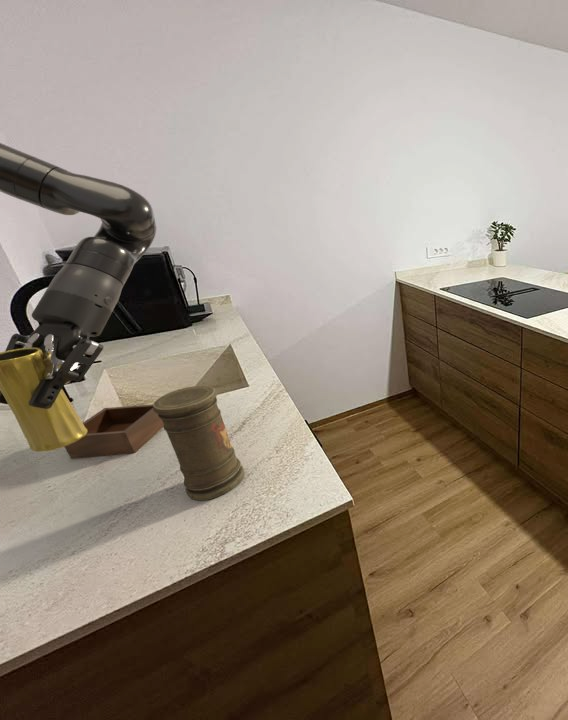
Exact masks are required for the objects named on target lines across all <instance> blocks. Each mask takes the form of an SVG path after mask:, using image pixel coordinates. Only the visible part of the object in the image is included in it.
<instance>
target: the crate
mask: <svg viewBox="0 0 568 720" xmlns="http://www.w3.org/2000/svg"><path fill="white" fill-rule="evenodd" d="M153 404H154V403H152V404H141V405H126V406H114V407H104V408H103V409H101V410H99V411H98V412H97V413H95V414H93V415H92V416H91V417H89V418H88V419H86V420H84V421H82V423H83V424H84V426H85V428H86V429H87V433H86V435H85V436H84V437H82V438H81V439H79V440H78V441H76V442H74V443H72V444H70V445H67V446H64V447H63V448H64V449H65V450H66V452H67V454H68V456H69V458H70V459H81V458H92V457H103V456H115V455H126V454H135V453H136V452H138V451H139V450H140V449H141V448H142V447H144V445H145V444H146V443H147V442H149V441H150V440H151V439H152V438H153V437H154V436H156V435H157V434H158V433H159V432H160V431H161V430H162V429H163V428H164V424H163V421H162V420H161V418H159V416H158V414H157V413H155V412H154V410H153ZM162 427H163V428H162ZM161 428H162V429H161ZM160 429H161V430H160ZM159 430H160V431H159ZM158 431H159V432H158Z"/></svg>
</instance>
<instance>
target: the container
mask: <svg viewBox="0 0 568 720" xmlns="http://www.w3.org/2000/svg"><path fill="white" fill-rule="evenodd" d="M217 395H218V392H217V390H216V388H214V387H212V386H210V385H193V386H186V387H182V388H179V389H176V390H173V391H170V392H168V393H165V394H163V395H161V396H160V397H158V398H157V399H156V400H155V401H154V402H153V403H152V404H153V410H154V412H155V413H157V414H158V416H159V418H161V420H162V421H163V424H164V427H163V429H164V432H166V435H167V437H168V439H169V441H170V444H171V446H172V448H173V451H174V453H175V456H176V458H177V462H178V464H179V470H180V473H182V475H183V485H184V487H185V492H186V495H187V496H188V497H189V498H191V499H192V500H196V501H207V500H211V499H215V498H218V497H220V496H222V495H225V494H227V493H228V492H230V491H231V490H233V489H234V488H236V487H237V486H238V485H239V484H240V483H241V482H242V481H243V478H244V476H245V468H244V466H243V465H242V463H241V460H240V459H239V458H237V456H236V452H235V449H234V447H233V445H232V443H231V439H230V438H229V434H228V431H227V428H226V424H225V422H224V420H223V416H222V414H221V413H222V411H221V409H220V408H219V407H218V397H217Z"/></svg>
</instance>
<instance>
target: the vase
mask: <svg viewBox="0 0 568 720" xmlns="http://www.w3.org/2000/svg"><path fill="white" fill-rule="evenodd" d="M43 356H44V353H43V352H42V350H41V349H40V348H20V349H14V350H9V351H5V350H4V351H1V352H0V390H1V392H2V394H3V396H4V397H5V399H6V401H7V403H8V404H7V405H8V406H9V409H10V411H11V412H12V413H13V416H14V417H15V420H16V421H17V423H18V426H19V427H20V430H21V432H22V433H23V434H22V435H23V436H24V437H25V439H26V441H27V444H28V446H29V449H30V450H31V451H32V452H41V453H42V452H49V451H54V450H58V449H62V448H65V447H64V446H67V445H70V444H72V443H74V442H76V441H78V440H79V439H81V438H82V437H84V436H85V435H86V433H87V429H86V428H85V426H84V424H83V421H82V419H81V418H80V416H79V414H78V413H77V411H76V409H75V407H74V406H73V404H72V403H71V401H70V399H69V398H68V396H67V395H66V392H65V391H64V389H63V388H62V389H61V391H60V393H59V395H58V397H57V398H56V400H55V402H54V403H53V405H52V407H51V408H49V409H43V408H38V407H33V406H30V405H29V401H30V399H31V397H32V395H33V394H34V392H35V390H36V388H37V386H38V385H39V383H40V381H41V380H46V379H44V373H45V368H46V366H45V364H44V362H43Z"/></svg>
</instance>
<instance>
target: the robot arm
mask: <svg viewBox="0 0 568 720" xmlns="http://www.w3.org/2000/svg"><path fill="white" fill-rule="evenodd" d="M0 192H1V193H3V194H5V195H8V196H9V197H12V198H14V199H17V200H19V201H24V202H25V203H29V204H31V205H34V206H37V207H39V208H42V209H46V210H48V211H50V212H53V213H57V214H60V215H63V216H73V215H77V214H79V213H83V214H87V215H90V216H94V217H96V218H98V219H100V221H101V225H100V227H99V229H98V231H97V232H96V233H95V235H94V236H87V237H84V238H82V239H81V240H79V242H78V243H77V244H76V245H75V246H74V249H73V250H72V252H71V253H70V255H69V257H68V259H67V260H66V262H65V263H64V265H63V266H62V267H61V268H60V270H58V272H57V273H56V274H55V275H54V277H53V278H52V280H51V281H50V283H49V285H48V286H47V288H46V290H45V291H44V293H43V294H42V296H41V298H40V300H39V301H38V303H37V304H36V306H35V308H34V310H33V311H32V313H31V318H32V319H33V320H34V321H35V322H37V323H38V326H37V327H36V328H35V329H34V330H33V331H32V332H31V333H30V335H23V334H20V333H14V334H12V336H11V337H10V339H9V341H8V343H7V346H6V348H5V350H4V352H5V351H9V350H14V349H20V348H40V349H41V350H42V352H43V353H44V356H43V362H44V364H45V366H46V368H45V373H44V379H46V380H41V381H40V383H39V385H38V386H37V388H36V390H35V392H34V394H33V395H32V397H31V399H30V401H29V405H30V406H33V407H38V408H43V409H49V408H51V407H52V405H53V403H54V402H55V400H56V398H57V397H58V395H59V393H60V391H61V389H62V390H63V387H64V386H65V385H68V384H70V382H73V381H75V382H80V381H82V379H83V378H84V377H85V375H87V372H88V371H89V370H90V369H91V367H92V366H93V365H94V363H95V361H96V360H97V359H98V357H99V356H100V354H101V353H102V351H103V350H104V345H103V344H101V343H98V342H96V341H94V340H91V339H90V338H96V337H100V336H101V334H102V332H103V331H104V329H105V327H106V325H107V323H108V320H109V319H110V317H111V315H112V313H113V311H114V310H115V307H116V306H117V304H118V303H119V300H120V298H121V297H120V296H121V293H122V290H123V288H124V286H125V284H126V282H127V281H128V279H129V277H130V275H131V272H132V271H133V268H134V266H135V264H136V263H137V262H138V261H139V260H141V258H142V257H143V256H144V254H145V253H146V252H147V251H148V249H149V248H150V247H151V245H152V244H153V242H154V240H155V237H156V234H157V224H156V218H155V214H154V209H153V207H152V205H151V203H150V201H148V199H147V198H146V197H144V196H143V195H142V194H140V193H139V192H137V191H135V190H134V189H132V188H130V187H128V186H125V185H124V184H120V183H117V182H113V181H111V180H105V179H101V178H97V177H93V176H89V175H85V174H79V173H74V172H72V171H68V170H67V169H65V168H62V167H60V166H57V165H55V164H54V163H53V164H52V163H50V162H48V161H45V160H43V159H40V158H38V157H36V156H33V155H31V154H28V153H26V152H24V151H21V150H18V149H16V148H14V147H12V146H9V145H7V144H5V143H1V142H0ZM79 364H80V365H79ZM78 365H79V366H78ZM0 404H3V405H8V403H7V401H6V399H5V397H4V396H3V394H2V392H1V390H0Z"/></svg>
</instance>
